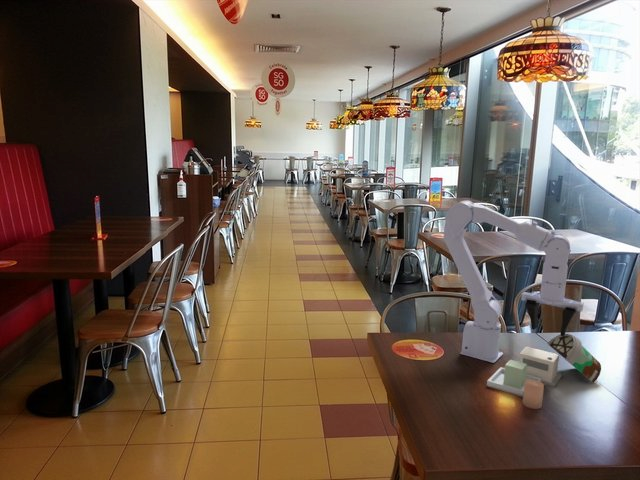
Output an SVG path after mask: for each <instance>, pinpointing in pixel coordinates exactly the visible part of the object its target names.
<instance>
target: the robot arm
mask: <svg viewBox="0 0 640 480" xmlns="http://www.w3.org/2000/svg"><path fill="white" fill-rule="evenodd" d="M444 220H445V221H444V229H443V241H444V243H445V245H446V247H447V249H448V251H449V254H450V256H451V258H452V260H453V263H454V264H455V266H456V269H457V270H458V271H457V272H458V273H459V275H460V278H461V279H462V281H463V283H464V285H465V287H466V290H467V292H468V294H469V296H470V302H471V308H472V309H473V319H474V320H473V321H472V320H468V321H466V323H465V325H464V327H463V332H462V344H461V351H460V354H461V355H464V356H467V357H470V358H474V359H478V360H481V361H486V362H488V363H492V364H494V363H496V362H497V361H498V360H499V359H500V358H501V357H502V356H504V353H503V352H502V351H499V350H500V341H501V340H500V339H501V329H502V324H501V322H500V321H499V319H500V316H501V315H502V312H503V307H502V306H503V305H502V304H501V302H500V301H499V300H497V299H496V298H495V296H494V295H493V293H492V292H491V290H490V289H489V288H488V287H487V285H486V283H485V280H484V278H483V276H482V274H481V272H480V270H479V267H478V266H477V264H476V261H475V259H474V257H473V255H472V253H471V250H470V248H469V246H468V244H467V242H466V240H465V238H464V237H465V234H466V233H467V230H468V227H469V226H470V225H471V223H472V224H480V223H487V224H489V225H491V226H494V227H496V228H498V229H502V230H503V231H506V232H508V233H511V234H513V235H514V236H515V239H516V241H517V242H518V243H520V244H521V243H522V244H523V245H525V246H527V247H530V248H533V249H534V250H536V251H538V252H544V254H545V257H544V262H543V266H542V273H541V274H542V275H541V283H540V293H536V292H527V291H524V292H523V293H521V301H524V302H526V303H525V308H526V311H527V313H528V315H529V319H530V324H531V325H530V326H531V330H536V329H537V327H538V315H539V314H538V313H539V307H540V304H542V305H543V304H544V305H548V306H552V307H558V308H563V310H562V322H561V329H560V334H559V335H560V336H564V335H565V334H566V331H567V328H568V326H569V324H570V322H571V321H572V319H573V317H574V315H575V314H576V312H580V313H581V312H583V310H584V303H585V302H580V301H577V300H573V299H569V298H566V297H565V294H566V285H567V278H568V269H569V266H568V263H569V258H568V257H569V255H570V254H571V243H570V240H569V239H568V238H567V236H564V235H563V234H562V233H556V231H555V230H553V229H552V230H548V229H546V228H544V227H541V226H540V225H538V222H536V221H535V220H533V221H531V222H530V221H524V222H518V221H516V220H514V219H513V218H511V217H508V216H506V215H504V214H502V213H500V212H498V211H496V210H494V209H493V208H490V207H487V206H486V205H483V204H480V203H478V202H477V203H474V202H473V201H472V200H469V199H468V200H467V199H464V200H461V201H458V202H455V203H454V204H452V205H451V206H450V207H449V209H448V210H447V212H446V214H445V216H444Z"/></svg>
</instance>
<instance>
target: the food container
mask: <svg viewBox="0 0 640 480" xmlns="http://www.w3.org/2000/svg"><path fill="white" fill-rule="evenodd" d="M546 344H547V345H548V346H549V347H551V349H553V350H554V351H555V352H556V354H559V356H561V358H563V359H564V360H565V361H566V362H567V363H569V364H570V365H571V366H573V368H575V369H576V370H577V371H578V372H580V373H581V374H582V375H583V376H584V377H585V378H587V379H588V380H589V381H590V382H592V383H593V384H595V382H596V381H597V379H598V378H599V376H600V374H601V371H602V365H601V362H600V361H598V360H597V359H596V358H595V356H593V354H591V353H590V352H589V350H588V349H586V347H584V346H583V345H582V340H581V339H580V338H578V337H577V336H575V335H572V334H570V333H565V335H564V336H560V334H559V335H556V336H554V337H553V338H551V339H550V340H549V341H548V342H546Z"/></svg>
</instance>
